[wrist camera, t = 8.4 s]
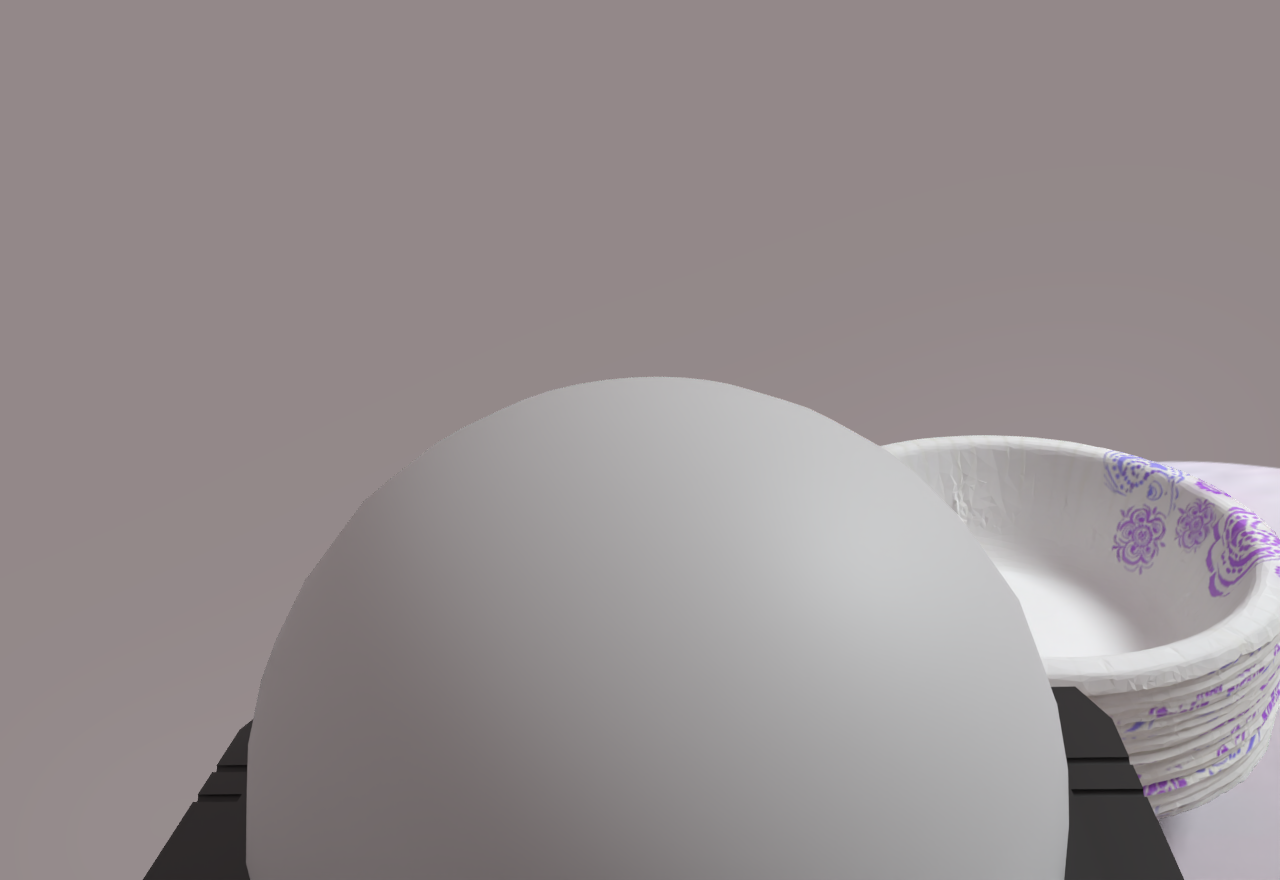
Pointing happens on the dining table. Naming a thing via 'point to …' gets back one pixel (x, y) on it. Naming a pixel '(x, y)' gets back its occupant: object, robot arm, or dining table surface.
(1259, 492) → the dining table surface
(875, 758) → the lightbulb
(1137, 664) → the paper bowls
